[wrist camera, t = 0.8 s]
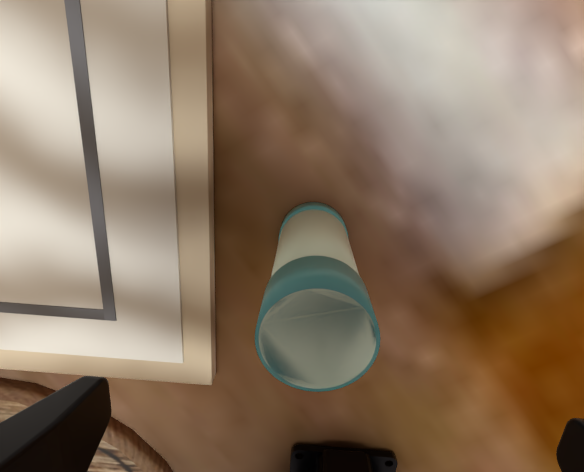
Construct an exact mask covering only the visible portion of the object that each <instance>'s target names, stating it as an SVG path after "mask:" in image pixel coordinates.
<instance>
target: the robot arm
mask: <svg viewBox="0 0 584 472" xmlns="http://www.w3.org/2000/svg"><path fill="white" fill-rule="evenodd" d="M110 417H111V402H110V393H109V384H108V381H107V379H106V378H104V377H98V376H84V377H81V378H79V379H78V380H76V381H74V382H72V383H70V384H69V385H67V386H65V387H63V388H61V389H60V390H58V391H56V392H54V393H52V394H51V395H49V396H47V397H45V398H43V399H42V400H40V401H38V402H36V403H34V404H33V405H31V406H29V407H27V408H26V409H24V410H22V411H20V412H18V413H17V414H15V415H13V416H11V417H9V418H8V419H6V420H4V421H2V422H0V472H87V471H88V469H89V466H90V464H91V462H92V460H93V457H94V455H95V453H96V451H97V449H98V446H99V444H100V442H101V440H102V437H103V435H104V433H105V431H106V428H107V426H108V424H109V421H110ZM299 453H300V454H299ZM556 455H557V461H558V464H559V466H560V469H561V471H562V472H584V419H580V418H573V419H570V420H569V421H568V422H567V424H566V426H565V429H564V432H563V434H562V437H561V439H560V442H559V445H558V447H557V453H556ZM396 468H397V460H396V456H395V454H394V453H392V452H387V451H375V450H362V449H350V448H337V447H325V446H313V445H300V444H299V445H295V446H293V447H292V450H291V462H290V472H396Z"/></svg>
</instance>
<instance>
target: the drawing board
mask: <svg viewBox="0 0 584 472" xmlns="http://www.w3.org/2000/svg"><path fill="white" fill-rule="evenodd" d="M0 369H10V370H23V371H36V372H48V373H61V374H74V375H87V376H100V377H112V378H125V379H138V380H151V381H164V382H176V383H189V384H202V385H212V383H213V380H214V377H215V374H216V338H215V254H214V170H213V85H212V1H211V0H0Z"/></svg>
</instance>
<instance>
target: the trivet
mask: <svg viewBox="0 0 584 472" xmlns="http://www.w3.org/2000/svg"><path fill="white" fill-rule="evenodd" d="M54 392H56V391H55V390H53V389H50V388H47V387H44V386H42V385H39V384H36V383H31V382H25V381H19V380H12V379H6V378H0V422H2V421H4V420H6V419H8V418H9V417H11V416H13V415H15V414H17V413H18V412H20V411H22V410H24V409H26V408H27V407H29V406H31V405H33V404H34V403H36V402H38V401H40V400H42V399H43V398H45V397H47V396H49V395H51V394H52V393H54ZM87 472H173V471H172V469H171V468H170V466H169V465H168V463H167V462H166V461H165V460H164V459H163V458H162V457H161V456H160V455H159V454H158V453H157V452H156V451H155V450H154V449H153V448H151V447H150V446H149V445H148V444H147V443H146V442H145V441H144V440H143V439H142V438H141V437H140V436H139V435H138V434H136V433H135V432H134V431H133V430H132V429H131V428H129V427H127V426H126V425H124V424H122V423H121V422H119V421H117V420H116V419H114V418H112V417H110V421H109V424H108V426H107V428H106V431H105V433H104V435H103V437H102V440H101V442H100V444H99V446H98V449H97V451H96V453H95V455H94V457H93V460H92V462H91V464H90V466H89V469H88V471H87Z"/></svg>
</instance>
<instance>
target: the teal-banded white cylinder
mask: <svg viewBox="0 0 584 472" xmlns="http://www.w3.org/2000/svg"><path fill="white" fill-rule="evenodd" d="M255 345H256V350H257V353H258V356H259V358H260V360H261V362H262V364H263V365H264V366H265V368H266V369H267V370H268V371H269V372H270V373H271V374H272V375H273V376H274V377H275V378H277V379H278V380H280V381H281V382H283V383H285V384H287V385H289V386H291V387H294V388H297V389H301V390H305V391H317V392H321V391H330V390H335V389H339V388H342V387H344V386H347V385H349V384H351V383H353V382H354V381H356V380H358V379H359V378H360V377H362V376H363V375H364V374H365V373H366V372H367V371H368V369H369V368H370V367H371V366H372V364H373V362H374V361H375V359H376V356H377V354H378V351H379V347H380V331H379V327H378V323H377V320H376V317H375V314H374V311H373V307H372V304H371V301H370V298H369V295H368V292H367V289H366V286H365V284H364V282H363V280H362V279H361V277H360V276H359V273H358V270H357V266H356V263H355V260H354V257H353V253H352V250H351V247H350V243H349V239H348V233H347V230H346V226H345V223H344V221H343V219H342V217H341V216H340V214H339V213H338V212H337V211H336V210H335V209H333V208H332V207H330V206H329V205H326V204H323V203H319V202H307V203H303V204H300V205H298V206H296V207H295V208H293V209H292V210H291V211H290V212H289V213H288V214H287V215H286V216H285V218H284V220H283V222H282V225H281V229H280V233H279V243H278V247H277V252H276V256H275V261H274V266H273V270H272V275H271V279H270V280H269V282H268V284H267V286H266V289H265V292H264V296H263V301H262V305H261V309H260V313H259V317H258V322H257V326H256V330H255Z"/></svg>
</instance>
